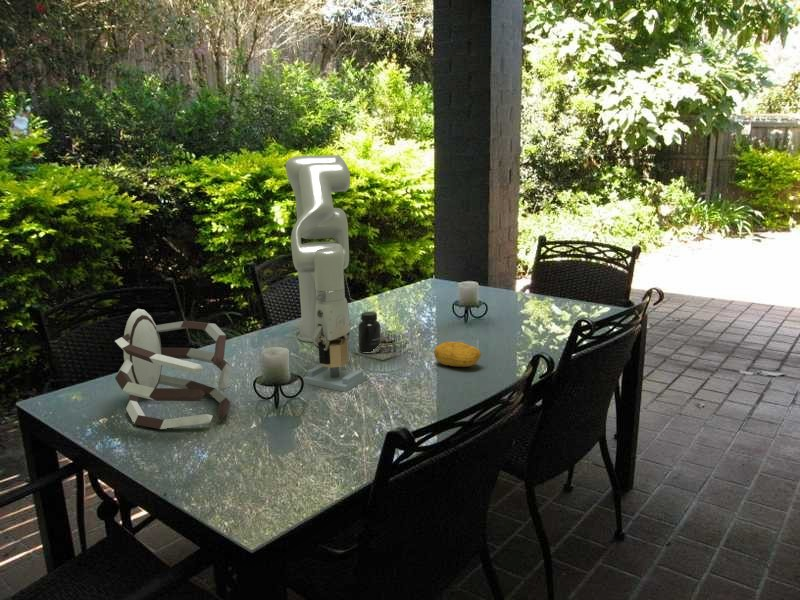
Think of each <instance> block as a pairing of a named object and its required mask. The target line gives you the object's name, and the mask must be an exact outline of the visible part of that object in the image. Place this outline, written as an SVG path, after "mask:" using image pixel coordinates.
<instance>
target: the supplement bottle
mask: <svg viewBox="0 0 800 600" xmlns="http://www.w3.org/2000/svg"><path fill="white" fill-rule="evenodd" d="M360 315H361V316H360V320H361V321H360V322H359V323H358V331H357V332H358V351H359V352H360V351H361V352H371V351H373V349H375V348H376V347H377V346H378V345H379V344H380V343H381V344H382V338H381V337H382V336H381V333H382V332H381V323H380V322H379V321H378V314H377V312H375V311H365V312H362V313H361V314H360ZM361 352H360V353H361Z"/></svg>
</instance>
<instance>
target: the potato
mask: <svg viewBox="0 0 800 600" xmlns="http://www.w3.org/2000/svg"><path fill="white" fill-rule="evenodd" d="M433 354H434V356H435V359H436V360H437V361H438V362H439V363H441V364H442V365H443V366H448V365H449V366H450V367H454V368H455V367H456V368H465V367H467V368H468V367H472V366H474V365H475V364H477V363H478V361H479V360H480V358H481V355H482V352H481V351H480V349H478V348H477V347H475V346H473V345H470V344H466V343H464V342H462V341H461V342H460V341H444V342H441V343H439V344H438V345H437V346H436V347H435V348H434V351H433Z"/></svg>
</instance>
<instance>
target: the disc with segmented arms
mask: <svg viewBox="0 0 800 600" xmlns="http://www.w3.org/2000/svg"><path fill="white" fill-rule="evenodd" d="M182 329H183V330H184V329H193V330H194V329H195V330H201V331H202V330H203V331H205V332H207V334H208V335H209V336H210V338H212V340H214V341H215V347H214V352H213V351H208V350H203V349H198V348H193V347H162V343H161V337H160V334H159V333H163V332H164V333H165V332H169V331H175V330H176V331H177V330H182ZM226 340H227V334H226V333H225V332H223V330H222V329H221V328H220V327H219V326H218V325H217V324H216V323H212V322H200V321H193V320H192V321H191V320H183V321H182V320H181V321H176V322H175V321H174V322H170V323H169V322H168V323H163V324H157V325H156V323H155V321H154V319H153V317H152V315H150V313H148V311H146V310H145V309H141V308H137V309H135V310H134V311H132V312H131V314H130V316H129V318H128V319H127V321H126V325H125V328H124V334H123V335H122V336H121V337H119V338H117V339H115V340H114V343H116V344H117V346H118V347H119V348H120V349H122V350H123V360H124V362H123V364H121V366H120V368H119V370H118V372H117V374H116V375H115V377H114V379H115V381H116V383H117V385H119V387H120V389H121V390H122V391H123V392H124V393H127V394H128V395H129V397H128V400H127V403H126V407H125V410H126V411H127V413H128V415H129V417H130V418H131V421H132V423H133V422H134V423H135V424H134V423H133V424H134V425H136V424H139V425H138V426H141V425H142V427H147V428H151V429H152V428H153V429H158V430H168V429H167V428H173V429H178V428H179V427H180V428H187V427H193V426H194V427H195V426H201V425H207V424H208V425H210V423H211V421H212V419H213V415H212V414H207V413H205V414H197V415H189V416H183V417H174V418H167V419H162V418H157V417H151V416H146V415H145V413H144V411H143V409H142V408H141V406H140V404H139V403H138V399H139V398H143V399H148V400H150V401H151V400H152V401H155V402H157V401H158V402H201V401H202V400H203V398H204V396H207V395H208V397H210V396H212V397H211V398H213V399H214V398H215V401H217V403H219V404H218V408H217V411H216V413H215V415H216V416H217V417H218V419H220V420H222V419H223V418H224V417H226V415H227V414H228V412H229V407H230V404H231V402H230V400H229V399H228V398H227V397H226V396H225V395H224V394H223V393H224V392H225V391H226V389H227V387H228V386H229V385H230V381H231V380H230V379H231V375H232V370H233V367H232V366H231V365H230V364H229V363H228V362H227V361H226V360H225V359H224V358H225V352H226V351H225V350H226ZM189 360H195V361H199V362H203V363H204V362H205V363H210V364H213V366H216V368H218V369H219V370H220V371H221V372H220V376H219V379H218V385H217V388H216V387H213V386H210V385H207V384H204V383H200V382H199V381H198V382H197V381H194V380H191V379H190V380H189V379H186V378H179V377H175V376H169V375H163V374H162V368H163V367H167V368H171V369H175V370H179V371H181V372H188V373H190V374H195V375H199V374H200V373H201V372H202V371H204V368H203V366H202V364H200V363H195V362H191V361H189ZM159 385H163V386H167V387H166V388H163V387H162V388H161V387H160V388H159ZM168 387H170V388H168ZM171 387H173V388H171ZM219 390H220V391H221V392H223V393H221V392H220V391H219Z"/></svg>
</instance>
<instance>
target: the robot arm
mask: <svg viewBox="0 0 800 600" xmlns="http://www.w3.org/2000/svg"><path fill="white" fill-rule="evenodd" d="M285 171H286V177H287V179H288V182H289V184H290V186H291V188H292V191H293V194H294V197H295V211H296V222H295V224H294V225H293V228H292V230H291V235H290V245H291V255H292V257H291V258H292V263H293V267H294V268H295V270H296V271H297V277H298V278H297V279H298V286H299V301H300V313H301V314H300V316H301V318H300V319H301V321H296V323H295V324H294V326H293V327H294V329H297V330H299V333H298V334H297V338H298V340H300V341H301V342H305V343H307V342H308V343H313V344H314V346H315V347H316V350H318V356H319V358H318V360H319V363H320V364H321V363H322V364H327V365H328V364H330V351H329V350H328V346H329V342H330V341H332V340H335V339H337V338H344V339H346V340H347V342H348V341H349V339H350V338H349V335H350V333H351V328H352V326H353V323H352V322H351V317H350V316H351V315H350V309H349V305H348V304H349V303H348V300H347V298H346V296H345V295H346V294H345V291H346V290H345V275H344V274H345V273H344V272H345V271H344V270H345V269H347V268H348V266H349V263H350V249H349V247H350V246H349V225H348V217H347V214H346V212H345V211H344V210H343V209H342V208H339V207H334V203H333V197H332V193H340V192H346V191H348V190H349V188H350V185H351V174H350V170H349V168H348V165H347V163H346V161H345V160H344V159H343V158H342V157H341V156H340V155H335V154H334V155H333V154H332V155H329V154H328V155H300V156H294V157H291V158H289V159H288V160H287V161H286V163H285ZM302 238H303V239H306V240H319V239H333V241H332V240H331V241H316V242H305V243H302ZM323 340H324V341H325V344H323V343H322V342H323ZM347 345H348V343H347Z"/></svg>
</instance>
